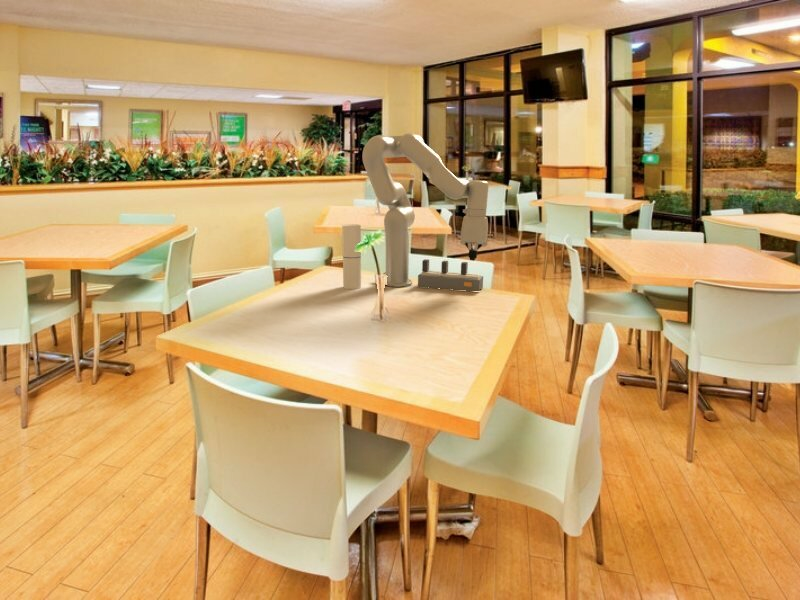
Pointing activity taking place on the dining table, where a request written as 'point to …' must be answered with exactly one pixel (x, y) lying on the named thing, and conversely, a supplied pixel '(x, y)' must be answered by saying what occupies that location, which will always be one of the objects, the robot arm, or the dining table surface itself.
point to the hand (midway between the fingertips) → (472, 259)
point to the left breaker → (425, 265)
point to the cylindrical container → (351, 256)
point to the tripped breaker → (464, 267)
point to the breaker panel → (450, 280)
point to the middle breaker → (444, 267)
